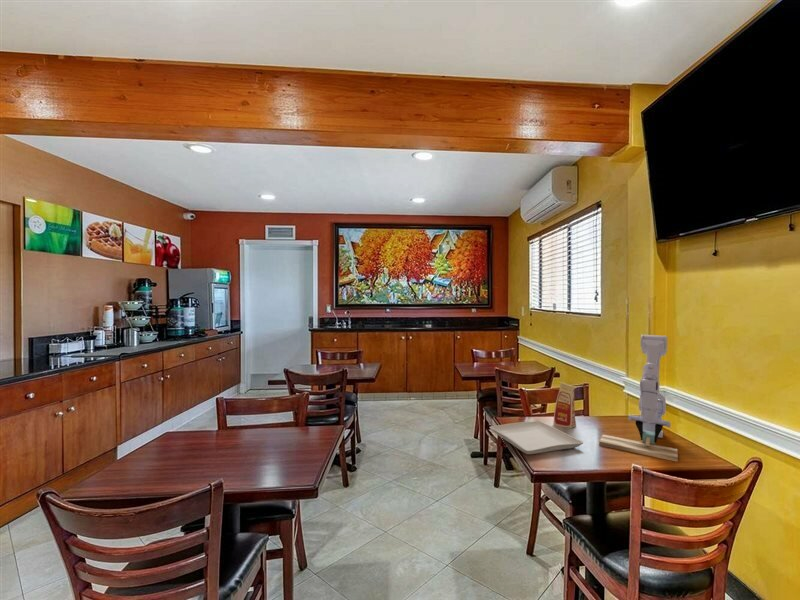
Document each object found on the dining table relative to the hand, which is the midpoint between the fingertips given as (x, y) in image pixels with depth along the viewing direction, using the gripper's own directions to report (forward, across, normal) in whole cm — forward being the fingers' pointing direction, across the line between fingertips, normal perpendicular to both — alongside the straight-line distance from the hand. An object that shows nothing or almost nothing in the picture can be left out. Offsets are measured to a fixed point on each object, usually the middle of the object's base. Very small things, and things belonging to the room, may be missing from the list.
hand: (648, 440), depth 157 cm
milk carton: (+2, -34, +6) cm, 34 cm away
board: (+2, -3, -8) cm, 9 cm away
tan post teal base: (+2, 0, -3) cm, 4 cm away
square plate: (+2, -39, -25) cm, 47 cm away
